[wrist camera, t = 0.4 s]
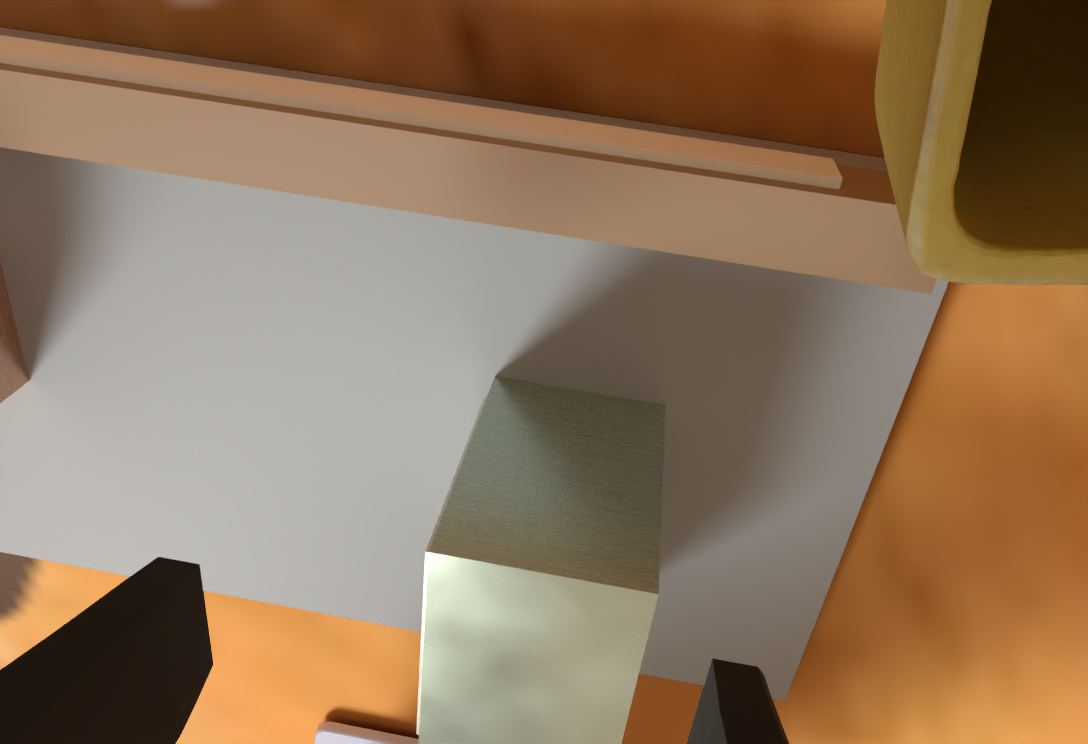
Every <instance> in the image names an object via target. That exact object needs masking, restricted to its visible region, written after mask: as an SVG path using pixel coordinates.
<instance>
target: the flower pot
mask: <svg viewBox="0 0 1088 744" xmlns="http://www.w3.org/2000/svg"><path fill="white" fill-rule="evenodd" d="M875 110H876V119H877V125H878V130H879V134H880V138H881V142H882V147H883V153H884V158H885V162H886V166H887V170H888V174H889V178H890V182H891V186H892V190H893V194H894V198H895V202H896V206H897V210H898V214H899V218H900V222H901V226H902V229H903V233H904V237H905V241H906V245H907V248H908V251H909V253H910V256H911V259H912V261H913V263H914V264H915V266H916V267H917V269H918V270H919V271H920V273H921V274H923V275H926V276H928V277H930V278H932V279H938V280H944V281H949V282H956V283H970V284H1022V285H1046V284H1064V285H1088V0H887V3H886V10H885V17H884V24H883V30H882V37H881V44H880V50H879V57H878V64H877V70H876V83H875Z"/></svg>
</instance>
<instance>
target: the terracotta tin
mask: <svg viewBox="0 0 1088 744" xmlns="http://www.w3.org/2000/svg"><path fill="white" fill-rule="evenodd" d="M28 381H29V377H28V373H27V369H26V365H25V361H24V356H23V352H22V348H21V344H20V340H19V336H18V332H17V327H16V323H15V319H14V315H13V311H12V307H11V302H10V298H9V294H8V290H7V286H6V282H5V278H4V273H3V269H2V265H1V261H0V403H1V402H3V401H4V400H5V399H7V398H8V397H9V396H10V395H12V394H13V393H14V392H15V391H17V390H18V389H19V388H21V387H22V386H23V385H24V384H26V383H27V382H28Z"/></svg>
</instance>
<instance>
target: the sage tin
mask: <svg viewBox="0 0 1088 744" xmlns="http://www.w3.org/2000/svg"><path fill="white" fill-rule="evenodd" d="M665 415H666V405H664V404H658V403H652V402H646V401H640V400H634V399H628V398H622V397H616V396H610V395H605V394H599V393H593V392H587V391H581V390H575V389H569V388H563V387H557V386H551V385H546V384H540V383H534V382H528V381H522V380H516V379H510V378H504V377H498V376H495V377H494V380H493V382H492V385H491V388H490V390H489V393H488V396H487V398H486V399H485V398H484V399H483V402H482V405H481V407H480V410H479V412H478V415H477V418H476V420H475V423H474V425H473V428H472V431H471V433H470V436H469V439H468V441H467V444H466V446H465V449H464V452H463V454H462V457H461V459H460V462H459V465H458V467H457V470H456V473H455V475H454V478H453V480H452V483H451V486H450V488H449V491H448V493H447V496H446V499H445V501H444V504H443V506H442V509H441V512H440V514H439V517H438V520H437V522H436V525H435V527H434V530H433V533H432V535H431V538H430V540H429V543H428V546H427V548H426V551H425V566H424V587H423V607H422V628H421V648H420V668H419V689H418V709H417V730H416V734H417V735H419V744H622V740H623V736H624V732H625V728H626V724H627V720H628V716H629V712H630V708H631V703H632V699H633V695H634V691H635V687H636V683H637V679H638V675H639V671H640V667H641V663H642V659H643V655H644V651H645V647H646V643H647V639H648V635H649V631H650V627H651V623H652V619H653V615H654V611H655V607H656V603H657V599H658V595H659V572H660V546H661V520H662V494H663V468H664V441H665Z"/></svg>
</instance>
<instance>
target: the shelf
mask: <svg viewBox="0 0 1088 744" xmlns="http://www.w3.org/2000/svg"><path fill="white" fill-rule="evenodd" d="M0 261H1V265H2V269H3V273H4V278H5V282H6V286H7V290H8V294H9V298H10V302H11V307H12V311H13V315H14V319H15V323H16V327H17V332H18V336H19V340H20V344H21V348H22V352H23V356H24V361H25V365H26V369H27V373H28V377H29V381H28V382H27V383H26V384H24V385H23V386H22V387H21V388H19V389H18V390H17V391H15V392H14V393H13V394H12V395H10V396H9V397H8V398H7V399H5V400H4V401H3V402H1V403H0V552H4V553H10V554H15V555H20V556H25V557H31V558H36V559H41V560H46V561H52V562H57V563H62V564H67V565H72V566H78V567H83V568H88V569H93V570H99V571H104V572H109V573H114V574H120V575H125V576H132V575H133V574H135V573H136V572H137V571H139V570H140V569H142V568H143V567H144V566H146V565H147V564H149V563H150V562H151V561H153V560H154V559H156V558H157V557H163V558H168V559H174V560H179V561H185V562H190V563H195V564H200V571H201V578H202V586H203V591H209V592H214V593H219V594H224V595H230V596H235V597H240V598H245V599H251V600H256V601H261V602H266V603H272V604H277V605H282V606H287V607H293V608H298V609H303V610H308V611H313V612H319V613H324V614H329V615H334V616H340V617H345V618H350V619H355V620H361V621H366V622H371V623H376V624H382V625H387V626H392V627H397V628H403V629H408V630H413V631H418V632H421V628H422V607H423V587H424V566H425V551H426V548H427V546H428V543H429V540H430V538H431V535H432V533H433V530H434V527H435V525H436V522H437V520H438V517H439V514H440V512H441V509H442V506H443V504H444V501H445V499H446V496H447V493H448V491H449V488H450V486H451V483H452V480H453V478H454V475H455V473H456V470H457V467H458V465H459V462H460V459H461V457H462V454H463V452H464V449H465V446H466V444H467V441H468V439H469V436H470V433H471V431H472V428H473V425H474V423H475V420H476V418H477V415H478V412H479V410H480V407H481V405H482V402H483V399H484V398H485V399H486V398H487V396H488V393H489V390H490V388H491V385H492V382H493V380H494V377H495V376H498V377H504V378H510V379H516V380H522V381H528V382H534V383H540V384H546V385H551V386H557V387H563V388H569V389H575V390H581V391H587V392H593V393H599V394H605V395H610V396H616V397H622V398H628V399H634V400H640V401H646V402H652V403H658V404H664V405H666V415H665V441H664V468H663V494H662V520H661V546H660V572H659V595H658V599H657V603H656V607H655V611H654V615H653V619H652V623H651V627H650V631H649V635H648V639H647V643H646V647H645V651H644V655H643V659H642V663H641V667H640V671H639V674H644V675H649V676H654V677H659V678H664V679H670V680H675V681H680V682H685V683H691V684H696V685H701V686H704V685H705V681H706V678H707V675H708V671H709V668H710V665H711V661H712V658H713V659H719V660H724V661H729V662H735V663H740V664H746V665H751V666H757V667H759V669H760V670H761V671H762V673H763V674H764V676H765V679H766V682H767V685H768V688H769V691H770V694H771V697H772V699H775V700H780V701H785V700H786V697H787V695H788V692H789V690H790V687H791V684H792V682H793V679H794V677H795V674H796V672H797V669H798V667H799V664H800V661H801V659H802V656H803V654H804V651H805V649H806V646H807V644H808V641H809V638H810V636H811V633H812V631H813V628H814V626H815V623H816V621H817V618H818V615H819V613H820V610H821V608H822V605H823V603H824V600H825V598H826V595H827V592H828V590H829V587H830V585H831V582H832V580H833V577H834V575H835V572H836V569H837V567H838V564H839V562H840V559H841V557H842V554H843V552H844V549H845V546H846V544H847V541H848V539H849V536H850V534H851V531H852V529H853V526H854V523H855V521H856V518H857V516H858V513H859V511H860V508H861V505H862V503H863V500H864V498H865V495H866V493H867V490H868V488H869V485H870V482H871V480H872V477H873V475H874V472H875V470H876V467H877V465H878V462H879V459H880V457H881V454H882V452H883V449H884V447H885V444H886V442H887V439H888V436H889V434H890V431H891V429H892V426H893V424H894V421H895V419H896V416H897V413H898V411H899V408H900V406H901V403H902V401H903V398H904V396H905V393H906V390H907V388H908V385H909V383H910V380H911V378H912V375H913V373H914V370H915V367H916V365H917V362H918V360H919V357H920V355H921V352H922V350H923V347H924V344H925V342H926V339H927V337H928V334H929V332H930V329H931V327H932V324H933V321H934V319H935V316H936V314H937V311H938V309H939V306H940V304H941V301H942V298H943V296H944V293H945V291H946V288H947V286H948V283H949V281H944V280H938V279H932V278H930V277H928V276H926V275H923V274H921V273H920V271H919V270H918V269H917V267H916V266H915V264H914V263H913V261H912V259H911V256H910V253H909V251H908V248H907V245H906V241H905V237H904V233H903V229H902V226H901V222H900V218H899V214H898V210H897V206H896V202H895V198H894V194H893V190H892V186H891V182H890V178H889V174H888V170H887V166H886V162H885V158H883V157H876V156H870V155H863V154H856V153H849V152H842V151H836V150H829V149H822V148H815V147H809V146H802V145H795V144H788V143H782V142H775V141H768V140H761V139H754V138H748V137H741V136H734V135H727V134H721V133H714V132H707V131H700V130H693V129H687V128H680V127H673V126H666V125H660V124H653V123H646V122H639V121H633V120H626V119H619V118H612V117H605V116H599V115H592V114H585V113H578V112H572V111H565V110H558V109H551V108H545V107H538V106H531V105H524V104H517V103H511V102H504V101H497V100H490V99H484V98H477V97H470V96H463V95H456V94H450V93H443V92H436V91H429V90H423V89H416V88H409V87H402V86H396V85H389V84H382V83H375V82H368V81H362V80H355V79H348V78H341V77H335V76H328V75H321V74H314V73H308V72H301V71H294V70H287V69H280V68H274V67H267V66H260V65H253V64H247V63H240V62H233V61H226V60H219V59H213V58H206V57H199V56H192V55H186V54H179V53H172V52H165V51H159V50H152V49H145V48H138V47H131V46H125V45H118V44H111V43H104V42H98V41H91V40H84V39H77V38H71V37H64V36H57V35H50V34H43V33H37V32H30V31H23V30H16V29H10V28H3V27H0Z"/></svg>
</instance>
